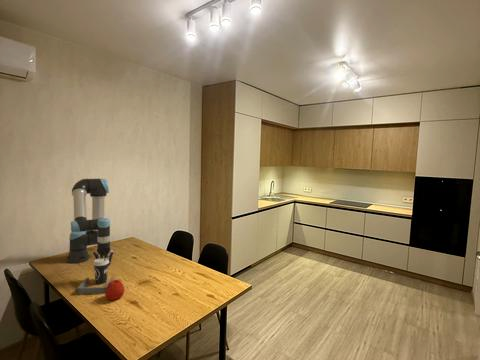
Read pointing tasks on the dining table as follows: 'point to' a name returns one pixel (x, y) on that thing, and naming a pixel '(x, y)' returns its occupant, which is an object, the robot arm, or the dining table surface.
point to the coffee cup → (101, 270)
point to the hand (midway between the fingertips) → (104, 275)
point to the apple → (114, 290)
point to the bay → (91, 288)
